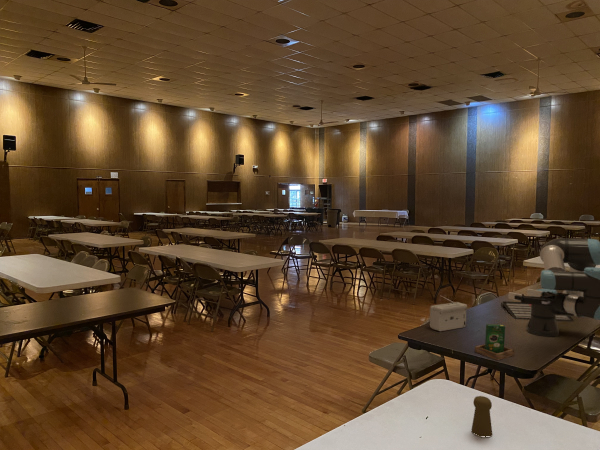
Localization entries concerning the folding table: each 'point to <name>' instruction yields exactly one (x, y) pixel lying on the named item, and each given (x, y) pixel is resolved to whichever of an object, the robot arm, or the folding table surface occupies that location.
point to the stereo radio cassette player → (448, 316)
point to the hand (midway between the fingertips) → (518, 293)
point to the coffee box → (495, 338)
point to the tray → (496, 356)
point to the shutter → (526, 311)
